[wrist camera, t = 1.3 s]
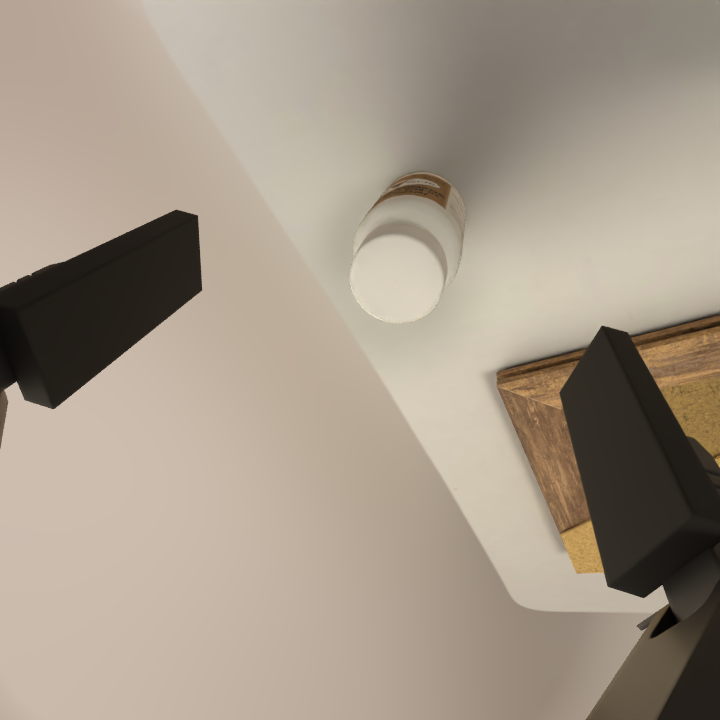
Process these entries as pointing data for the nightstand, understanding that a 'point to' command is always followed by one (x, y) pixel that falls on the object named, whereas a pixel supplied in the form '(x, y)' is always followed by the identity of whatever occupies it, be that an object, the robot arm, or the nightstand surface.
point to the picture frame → (551, 435)
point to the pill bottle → (408, 248)
